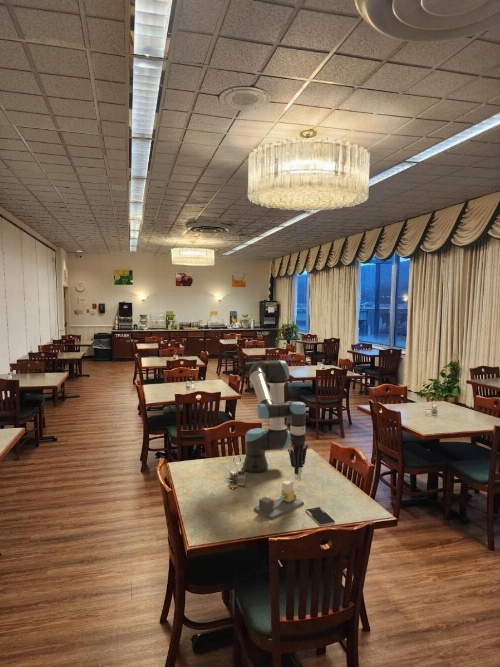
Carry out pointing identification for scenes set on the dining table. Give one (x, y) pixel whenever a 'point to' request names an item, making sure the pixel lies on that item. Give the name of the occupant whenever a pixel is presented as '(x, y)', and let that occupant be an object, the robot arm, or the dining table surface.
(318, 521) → the smartphone
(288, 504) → the comb base
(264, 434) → the robot arm
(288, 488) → the sleeve
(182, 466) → the dining table surface
